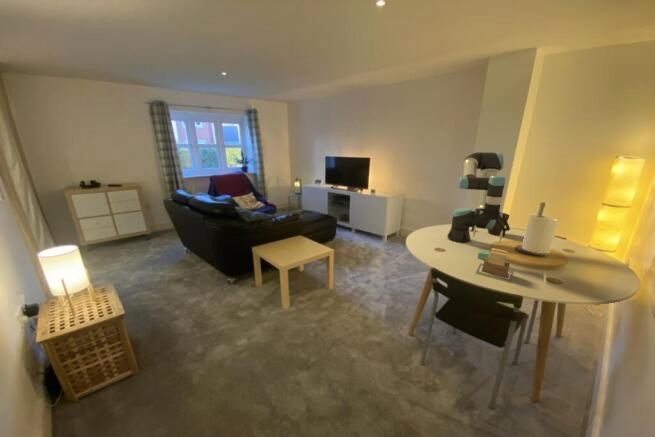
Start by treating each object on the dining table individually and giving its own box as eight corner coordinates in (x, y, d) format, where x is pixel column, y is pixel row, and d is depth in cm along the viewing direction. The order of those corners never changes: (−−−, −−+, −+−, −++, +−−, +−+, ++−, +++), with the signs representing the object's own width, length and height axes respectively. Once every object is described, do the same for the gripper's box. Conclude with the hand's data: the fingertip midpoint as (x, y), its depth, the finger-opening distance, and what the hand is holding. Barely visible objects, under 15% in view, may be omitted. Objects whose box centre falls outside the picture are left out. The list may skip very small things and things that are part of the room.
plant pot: (503, 232, 205) (507, 212, 200) (507, 238, 192) (511, 217, 187) (482, 229, 211) (485, 210, 206) (484, 235, 198) (487, 215, 193)
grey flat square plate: (480, 265, 149) (480, 262, 149) (513, 273, 139) (514, 271, 139) (474, 275, 137) (475, 273, 137) (511, 285, 127) (511, 283, 127)
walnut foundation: (483, 267, 143) (485, 257, 141) (507, 273, 136) (509, 263, 135) (482, 271, 139) (484, 261, 137) (506, 277, 132) (508, 267, 131)
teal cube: (478, 257, 159) (480, 250, 158) (488, 259, 156) (489, 252, 155) (477, 260, 155) (478, 252, 154) (486, 262, 152) (488, 254, 151)
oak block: (490, 258, 141) (492, 248, 139) (505, 261, 137) (507, 251, 135) (488, 262, 136) (490, 252, 134) (504, 266, 131) (506, 255, 130)
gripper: (467, 201, 151) (462, 235, 156) (519, 207, 136) (511, 245, 141) (469, 199, 156) (464, 232, 162) (520, 205, 141) (512, 241, 147)
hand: (486, 238), depth 152 cm, fingers open, 13 cm apart
